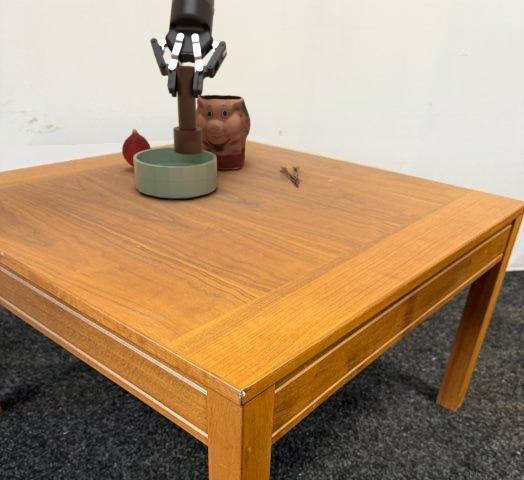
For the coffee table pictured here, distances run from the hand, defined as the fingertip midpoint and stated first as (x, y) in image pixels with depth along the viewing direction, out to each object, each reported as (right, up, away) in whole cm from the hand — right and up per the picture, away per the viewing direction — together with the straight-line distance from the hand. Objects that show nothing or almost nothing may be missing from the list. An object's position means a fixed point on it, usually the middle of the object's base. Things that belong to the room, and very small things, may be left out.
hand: (184, 94), depth 94 cm
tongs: (+20, -9, +19) cm, 29 cm away
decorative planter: (+4, -3, +28) cm, 28 cm away
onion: (-13, -6, +21) cm, 25 cm away
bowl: (-3, -13, +10) cm, 17 cm away
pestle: (0, -7, +7) cm, 10 cm away
